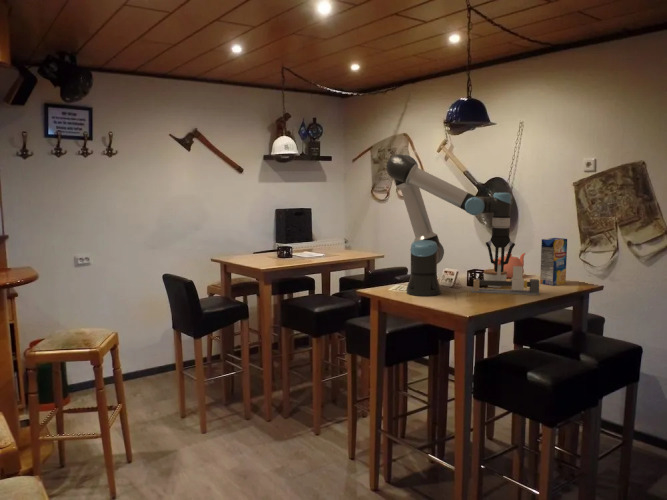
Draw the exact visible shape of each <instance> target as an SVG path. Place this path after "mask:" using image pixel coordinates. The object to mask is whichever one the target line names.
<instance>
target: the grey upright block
mask: <svg viewBox="0 0 667 500" xmlns="http://www.w3.org/2000/svg"><path fill="white" fill-rule="evenodd" d="M523 269H524V266H513V278H510V279H511V280H510V281H512V286H510V290H525V289H524V281H525V279H524V278H523V275H524V273H523Z"/></svg>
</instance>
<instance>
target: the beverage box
mask: <svg viewBox="0 0 667 500" xmlns="http://www.w3.org/2000/svg"><path fill="white" fill-rule="evenodd" d="M540 247H541V248H540V249H541V250H540V254H541V255H540V277H539V278H540V279H539V285H544V286H545V285H546V286H552V287H554V286H559V284H560V285H564V284H563V283H565V284H566V282H567V260H568V259H567V257H568V256H567V254H568V238H565V237H564V238H563V237H562V238H561V237H560V238H559V237H549V238H541V245H540Z"/></svg>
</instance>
